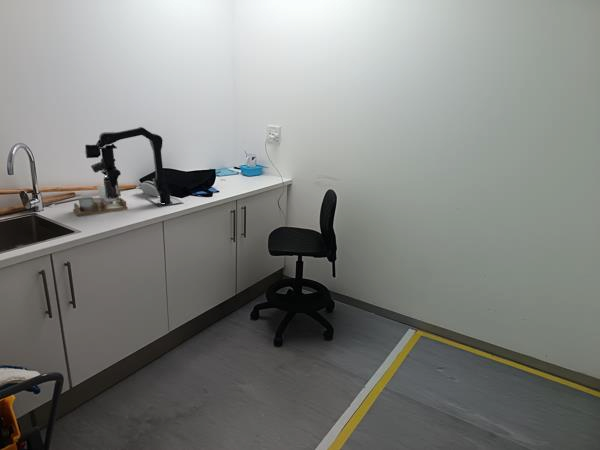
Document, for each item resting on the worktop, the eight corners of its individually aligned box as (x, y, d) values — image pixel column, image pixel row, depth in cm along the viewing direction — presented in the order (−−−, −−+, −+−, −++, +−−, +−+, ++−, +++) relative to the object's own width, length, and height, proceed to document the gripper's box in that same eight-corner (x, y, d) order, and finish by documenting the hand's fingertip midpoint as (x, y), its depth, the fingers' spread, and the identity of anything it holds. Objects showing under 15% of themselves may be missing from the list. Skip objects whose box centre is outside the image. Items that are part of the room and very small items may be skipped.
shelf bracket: (114, 208, 225) (110, 186, 223) (99, 207, 243) (95, 186, 240) (124, 206, 228) (120, 184, 226) (109, 205, 246) (105, 185, 244)
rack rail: (127, 209, 223) (126, 196, 220) (77, 216, 208) (75, 202, 205) (122, 205, 230) (121, 192, 228) (73, 211, 215) (71, 198, 213)
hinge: (165, 196, 252) (160, 182, 246) (160, 200, 249) (153, 186, 243) (150, 191, 261) (144, 178, 255) (144, 195, 258) (137, 181, 252)
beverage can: (105, 199, 216) (103, 177, 212) (105, 196, 222) (103, 175, 218) (119, 198, 219) (117, 176, 215) (119, 195, 225) (117, 174, 221)
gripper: (87, 155, 215) (90, 184, 220) (95, 161, 202) (99, 191, 207) (109, 154, 222) (112, 181, 227) (119, 159, 208) (122, 188, 213)
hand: (111, 185), depth 218 cm, fingers closed on beverage can, 7 cm apart
